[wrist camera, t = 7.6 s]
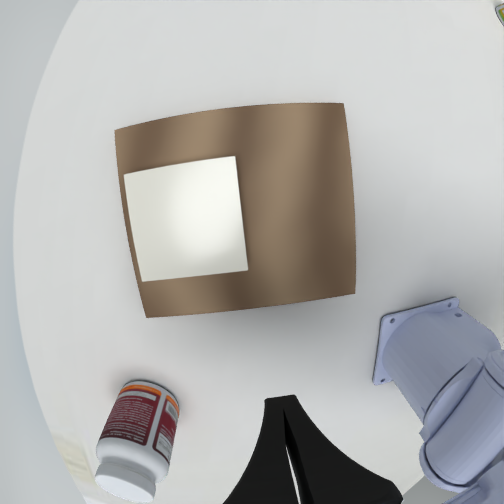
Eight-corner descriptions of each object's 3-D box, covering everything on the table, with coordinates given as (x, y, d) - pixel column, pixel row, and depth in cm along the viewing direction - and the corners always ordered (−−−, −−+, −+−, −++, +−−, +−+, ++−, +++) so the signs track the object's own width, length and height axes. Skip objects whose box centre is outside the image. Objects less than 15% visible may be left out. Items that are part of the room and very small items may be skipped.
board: (338, 106, 18) (343, 103, 17) (350, 288, 21) (355, 293, 20) (119, 132, 17) (114, 130, 16) (149, 312, 21) (146, 317, 20)
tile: (235, 156, 16) (123, 174, 16) (248, 270, 18) (142, 281, 17) (235, 158, 17) (133, 174, 17) (247, 262, 19) (149, 273, 19)
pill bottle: (112, 398, 23) (76, 478, 13) (136, 367, 22) (95, 460, 12) (162, 428, 25) (143, 511, 14) (192, 402, 24) (177, 498, 13)
